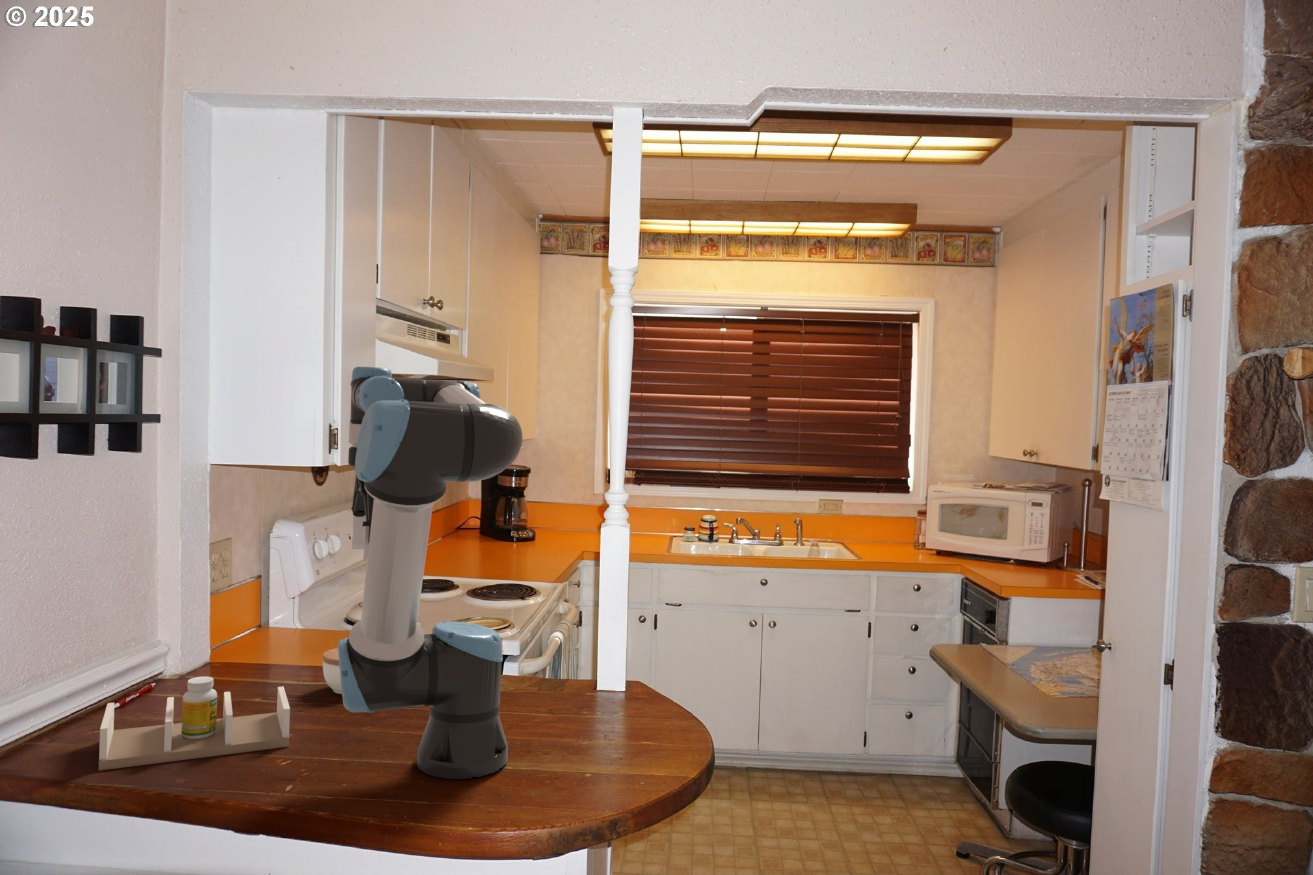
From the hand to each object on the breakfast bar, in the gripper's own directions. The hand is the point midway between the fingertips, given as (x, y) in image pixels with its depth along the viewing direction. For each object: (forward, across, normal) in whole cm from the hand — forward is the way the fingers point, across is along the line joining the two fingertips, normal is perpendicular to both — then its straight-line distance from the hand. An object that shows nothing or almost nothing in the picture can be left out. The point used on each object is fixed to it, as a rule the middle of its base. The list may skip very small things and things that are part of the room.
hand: (364, 554), depth 170 cm
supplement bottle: (+29, -8, +28) cm, 41 cm away
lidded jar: (+31, +13, 0) cm, 34 cm away
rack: (+31, -8, +28) cm, 42 cm away
